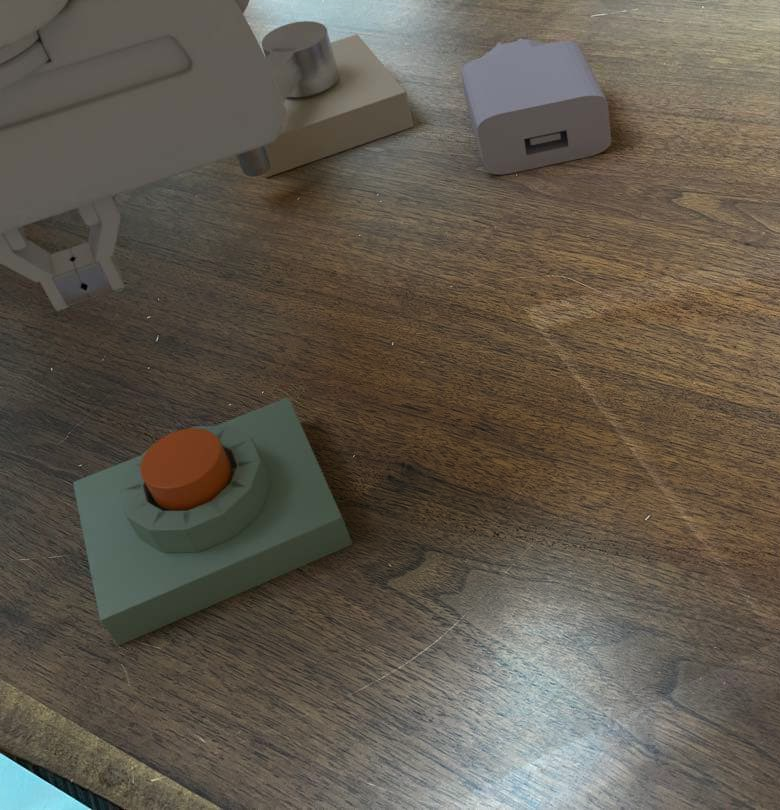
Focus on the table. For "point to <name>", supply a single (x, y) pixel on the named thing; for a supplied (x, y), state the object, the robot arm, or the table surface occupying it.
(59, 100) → the robot arm
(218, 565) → the button box
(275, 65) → the crank handle
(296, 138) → the crank base
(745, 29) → the table surface
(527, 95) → the charger
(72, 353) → the table surface
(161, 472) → the button
